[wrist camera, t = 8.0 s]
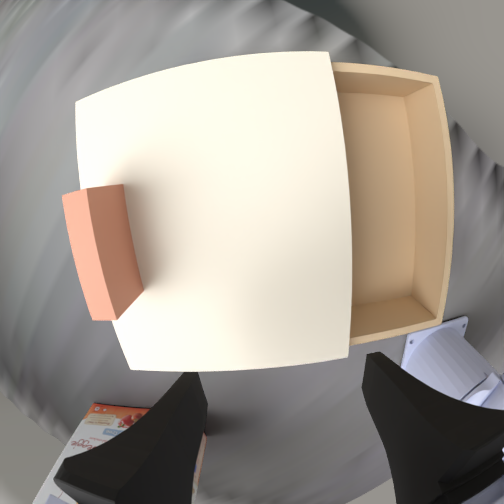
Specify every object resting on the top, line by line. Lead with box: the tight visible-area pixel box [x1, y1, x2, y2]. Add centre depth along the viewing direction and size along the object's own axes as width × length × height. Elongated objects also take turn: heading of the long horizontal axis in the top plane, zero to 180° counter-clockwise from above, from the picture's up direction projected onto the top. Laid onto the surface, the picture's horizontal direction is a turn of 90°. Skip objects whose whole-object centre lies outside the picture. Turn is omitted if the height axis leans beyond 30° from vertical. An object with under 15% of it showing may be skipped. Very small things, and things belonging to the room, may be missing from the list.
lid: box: [62, 51, 352, 371], centre depth 12 cm, size 18×14×4 cm
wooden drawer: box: [331, 62, 454, 346], centre depth 16 cm, size 17×14×5 cm
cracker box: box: [32, 403, 207, 504], centre depth 15 cm, size 14×6×21 cm, turn 101°
